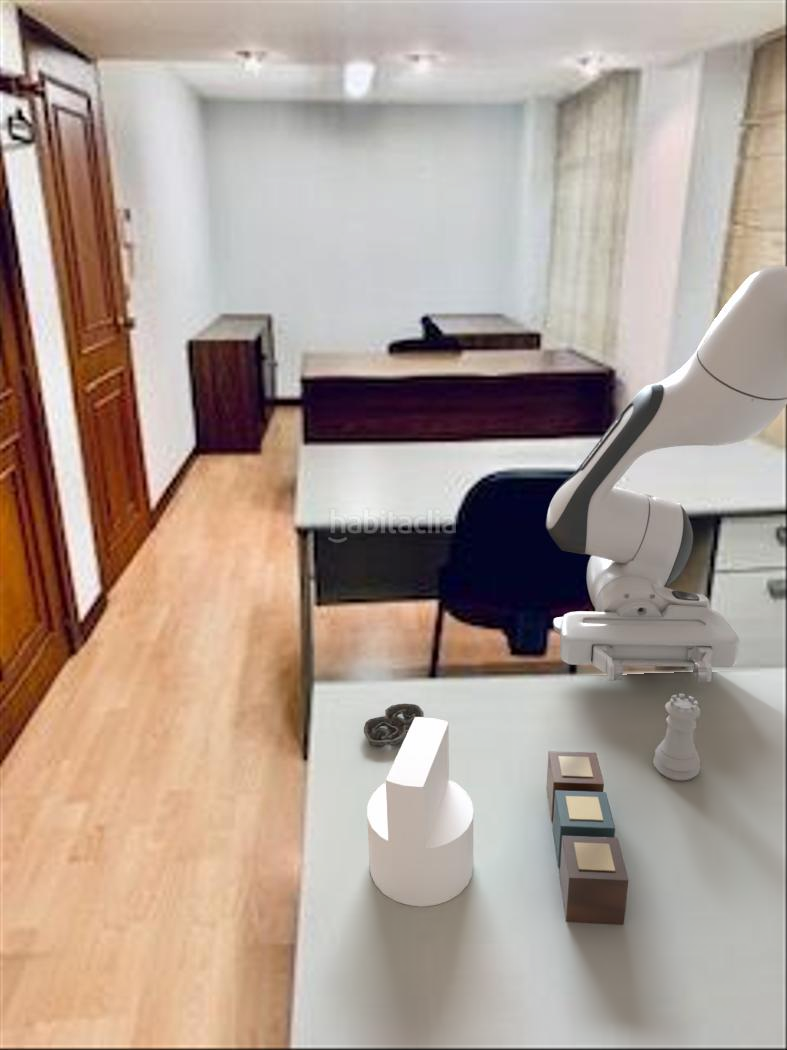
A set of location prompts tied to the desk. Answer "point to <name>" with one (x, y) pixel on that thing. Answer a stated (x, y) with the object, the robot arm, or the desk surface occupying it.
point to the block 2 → (593, 880)
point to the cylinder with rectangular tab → (421, 822)
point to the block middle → (581, 816)
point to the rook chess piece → (679, 741)
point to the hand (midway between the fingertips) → (660, 675)
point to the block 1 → (572, 774)
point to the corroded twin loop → (392, 724)
